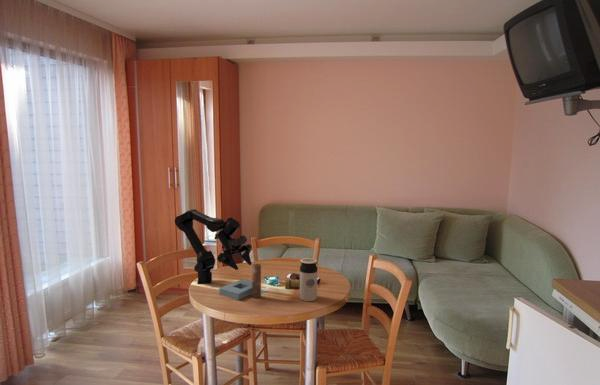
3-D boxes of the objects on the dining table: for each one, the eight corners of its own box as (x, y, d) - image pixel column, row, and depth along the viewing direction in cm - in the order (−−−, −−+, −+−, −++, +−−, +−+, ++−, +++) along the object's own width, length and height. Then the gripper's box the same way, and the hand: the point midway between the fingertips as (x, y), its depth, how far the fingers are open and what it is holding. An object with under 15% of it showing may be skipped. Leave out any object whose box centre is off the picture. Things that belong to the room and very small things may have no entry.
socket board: (219, 294, 178) (219, 288, 177) (242, 284, 191) (242, 279, 191) (238, 300, 171) (238, 293, 171) (261, 289, 184) (261, 283, 184)
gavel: (284, 269, 206) (302, 269, 207) (284, 278, 207) (302, 278, 207) (285, 280, 186) (305, 280, 186) (285, 289, 186) (305, 289, 186)
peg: (252, 298, 173) (252, 266, 172) (252, 295, 177) (252, 264, 176) (261, 298, 174) (261, 266, 172) (260, 294, 178) (260, 263, 176)
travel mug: (299, 294, 178) (300, 257, 176) (316, 295, 178) (317, 258, 176) (299, 301, 170) (299, 262, 168) (316, 302, 170) (317, 263, 168)
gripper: (221, 234, 172) (239, 262, 167) (248, 227, 187) (266, 252, 182) (209, 248, 177) (226, 276, 172) (237, 241, 192) (253, 266, 187)
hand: (244, 267), depth 178 cm, fingers open, 9 cm apart
